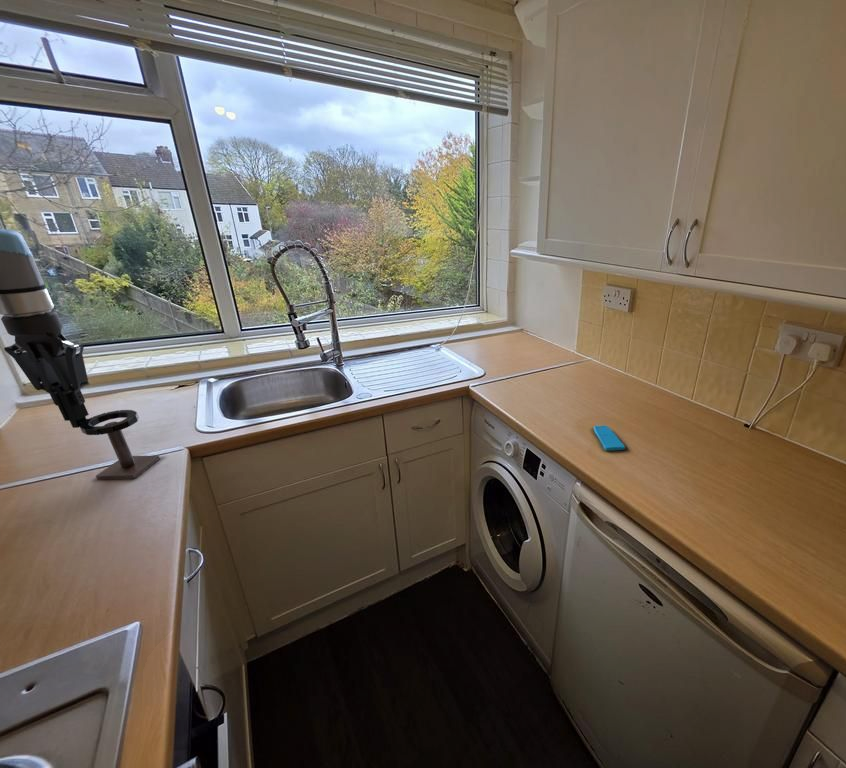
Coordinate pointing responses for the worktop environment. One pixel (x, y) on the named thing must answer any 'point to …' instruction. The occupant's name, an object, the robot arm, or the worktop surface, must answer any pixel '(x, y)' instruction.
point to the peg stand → (125, 460)
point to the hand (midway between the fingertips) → (77, 417)
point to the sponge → (608, 438)
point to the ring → (99, 418)
